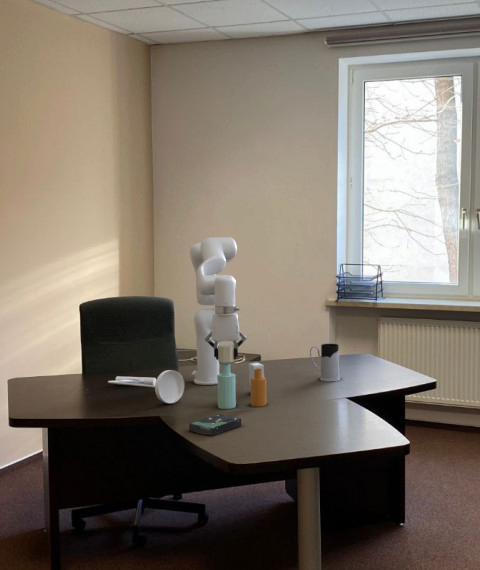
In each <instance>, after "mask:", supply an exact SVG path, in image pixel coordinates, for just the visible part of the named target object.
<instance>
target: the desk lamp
mask: <svg viewBox="0 0 480 570" xmlns="http://www.w3.org/2000/svg"><path fill="white" fill-rule="evenodd" d="M107 383H108V384H114V385H118V386H119V385H120V386H134V387H135V386H136V387H146V388H154V392H155V395H156V397H157V399H158V400H159V401H161V402H162V403H165V404H175V403H176V402H178V401H179V400H180V399H182V396H183V394H184V391H185V380H184V378H183V375H182V374H181V373H180V372H178V371H177V370H173V369H172V370H171V369H170V370H169V369H168V370H164V371H162V372H160V374H159V375H158V376H157V378H156V377H144V376H143V377H142V376H119V375H117V376H116V377H115V380H108V381H107Z"/></svg>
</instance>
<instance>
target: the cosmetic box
mask: <svg viewBox="0 0 480 570" xmlns="http://www.w3.org/2000/svg"><path fill="white" fill-rule="evenodd" d="M257 368H260V369H262V377H265V369H264V368H265V367H264V364H262V363H259V362H251V363H248V379H249V394H251V383H250V378H252V377H254V369H257Z"/></svg>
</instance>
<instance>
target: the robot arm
mask: <svg viewBox="0 0 480 570" xmlns="http://www.w3.org/2000/svg"><path fill="white" fill-rule="evenodd" d="M237 252H238V246H237V242H236V241H235V239H234V238H233V237H230V236H212V237H211V236H210V237H206V238H204V239H203V240H202V241H201V242H197V243H196V242H195V243H194V244H192V245H191V246H190V249H189V256H190V257H189V258H190V261H191V264H192V267H193V269H194V273H195V291H196V301H197V303H198V304H199V305H200V306H214V308H200V309H198V310H196V311H195V313H194V315H193V322H194V323H193V324H194V329H195V338H196V370H193V371H192V372H191V376H194V379H193V383H194V384H195V385H199V386H200V385H201V386H210V385H217V375H218V374H220V362H218V345H220V342H232V344H233V345H234V360H237V357H239V347H241V346H242V344H243V343H245V341H246V340H247V336H246V335H245V334H244V333H243V332H242V331H241V330H240V320H239V315H238V313H237V312H239V311H240V306H236V290H237V281H236V279H235V277H234V276H233V275H231V274H219V273H220V272H222V271H223V270H224V269H225V268H226V265H227V263H230V262H231V261H233V259H235V257H236V256H237ZM240 338H241V339H240Z"/></svg>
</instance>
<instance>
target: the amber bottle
mask: <svg viewBox="0 0 480 570" xmlns="http://www.w3.org/2000/svg"><path fill="white" fill-rule="evenodd" d="M250 383H251V393H250V406H252V407H257V408H258V407H264V406H267V378H266V377H265V376H264V377H262V369H260V368H257V369H254V377H252V378H250ZM250 383H249V384H250Z"/></svg>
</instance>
